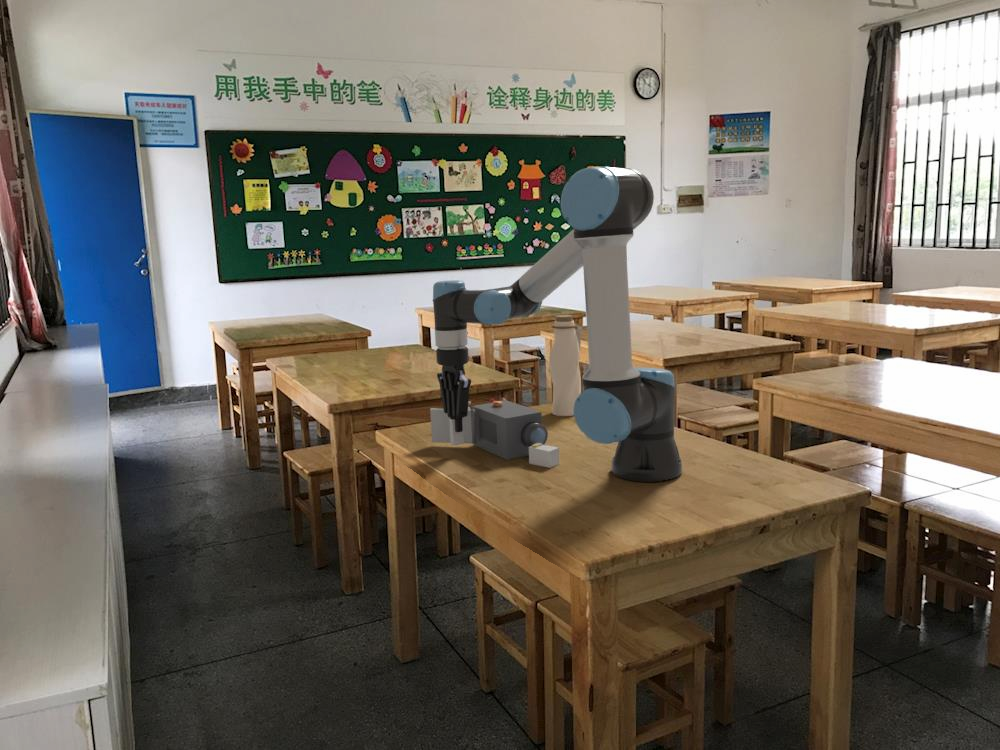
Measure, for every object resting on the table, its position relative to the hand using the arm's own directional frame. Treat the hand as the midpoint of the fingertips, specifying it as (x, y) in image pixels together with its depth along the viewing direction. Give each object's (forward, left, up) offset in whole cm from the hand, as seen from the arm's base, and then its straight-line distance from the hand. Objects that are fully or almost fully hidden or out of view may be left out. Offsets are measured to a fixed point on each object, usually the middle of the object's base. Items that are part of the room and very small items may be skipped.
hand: (457, 444), depth 196 cm
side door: (+7, -3, -2) cm, 8 cm away
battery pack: (-18, -13, -3) cm, 22 cm away
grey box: (-4, -12, -3) cm, 13 cm away
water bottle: (+18, -45, -3) cm, 49 cm away
